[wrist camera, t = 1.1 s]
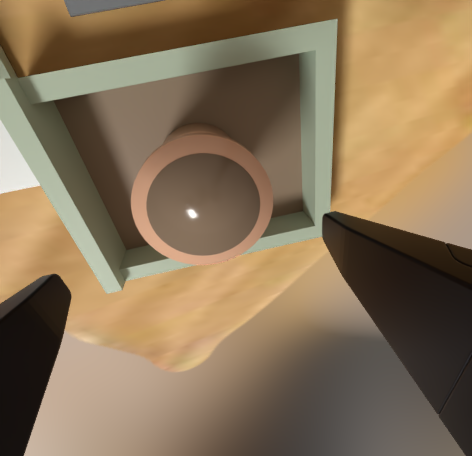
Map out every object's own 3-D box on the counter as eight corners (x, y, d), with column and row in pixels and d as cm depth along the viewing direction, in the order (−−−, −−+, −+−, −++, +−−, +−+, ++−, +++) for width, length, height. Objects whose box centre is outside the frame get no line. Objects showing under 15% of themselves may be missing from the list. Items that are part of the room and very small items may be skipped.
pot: (238, 105, 17) (266, 122, 11) (252, 197, 21) (278, 250, 15) (136, 125, 17) (104, 155, 11) (168, 216, 21) (158, 277, 14)
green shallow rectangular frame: (314, 27, 16) (347, 14, 13) (314, 217, 23) (335, 241, 20) (25, 81, 15) (-22, 83, 12) (119, 261, 23) (106, 293, 19)
